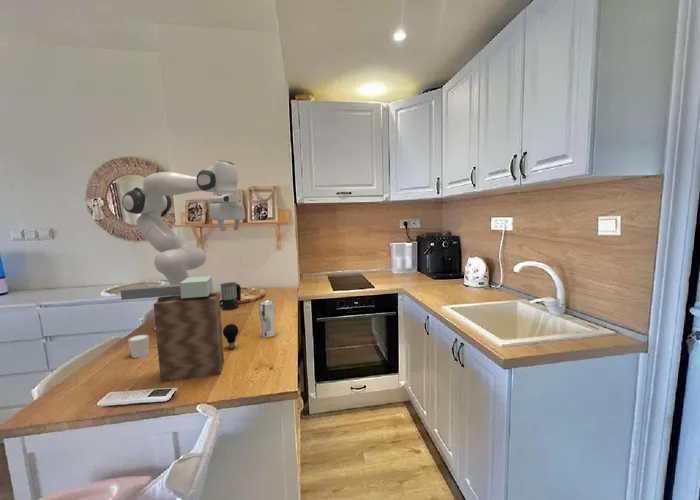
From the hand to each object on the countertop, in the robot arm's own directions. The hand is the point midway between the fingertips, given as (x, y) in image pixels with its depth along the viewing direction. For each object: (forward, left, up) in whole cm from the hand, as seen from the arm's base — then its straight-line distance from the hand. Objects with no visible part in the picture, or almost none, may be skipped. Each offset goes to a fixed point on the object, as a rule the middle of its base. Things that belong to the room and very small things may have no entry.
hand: (229, 230), depth 139 cm
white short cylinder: (-24, -28, -47) cm, 60 cm away
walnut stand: (+8, -34, -47) cm, 59 cm away
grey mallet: (+3, -37, -20) cm, 42 cm away
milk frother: (-35, +37, -48) cm, 70 cm away
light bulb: (+8, -14, -47) cm, 50 cm away
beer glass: (+15, +2, -47) cm, 50 cm away
